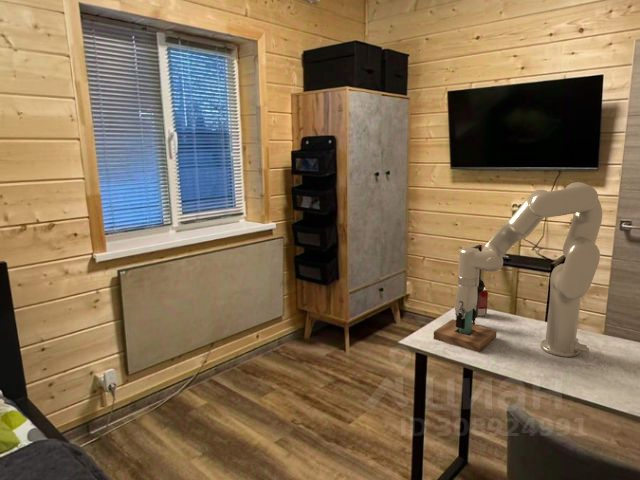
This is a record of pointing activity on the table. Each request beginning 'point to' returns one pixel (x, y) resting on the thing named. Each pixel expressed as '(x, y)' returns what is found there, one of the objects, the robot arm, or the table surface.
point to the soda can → (483, 303)
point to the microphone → (479, 290)
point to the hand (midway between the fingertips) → (465, 324)
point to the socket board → (465, 336)
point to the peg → (467, 323)
